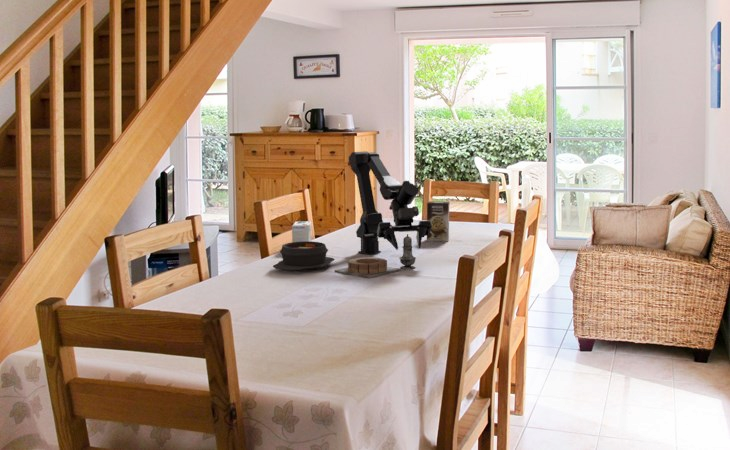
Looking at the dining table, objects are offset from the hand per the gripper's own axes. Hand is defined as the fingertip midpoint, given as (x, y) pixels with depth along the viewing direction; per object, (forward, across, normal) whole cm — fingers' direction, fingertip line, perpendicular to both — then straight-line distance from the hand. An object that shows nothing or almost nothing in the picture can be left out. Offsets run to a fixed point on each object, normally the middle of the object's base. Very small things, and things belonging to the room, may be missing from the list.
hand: (408, 248), depth 281 cm
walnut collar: (+6, -15, +5) cm, 16 cm away
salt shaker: (+4, 0, +6) cm, 7 cm away
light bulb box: (-28, -32, +38) cm, 57 cm away
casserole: (-2, -35, +13) cm, 37 cm away
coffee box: (-33, +26, +43) cm, 60 cm away
